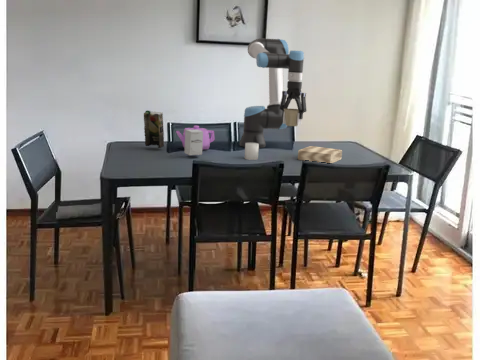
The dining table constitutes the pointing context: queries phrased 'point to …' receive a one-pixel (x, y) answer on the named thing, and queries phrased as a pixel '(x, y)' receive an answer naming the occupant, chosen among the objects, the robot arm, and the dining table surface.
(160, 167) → the dining table surface
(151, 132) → the juice carton
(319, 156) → the maple block
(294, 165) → the dining table surface
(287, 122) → the flower pot
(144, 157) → the dining table surface
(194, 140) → the supplement box
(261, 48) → the robot arm
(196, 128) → the teakettle
